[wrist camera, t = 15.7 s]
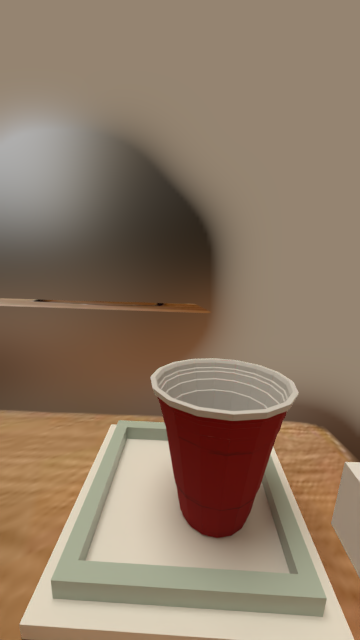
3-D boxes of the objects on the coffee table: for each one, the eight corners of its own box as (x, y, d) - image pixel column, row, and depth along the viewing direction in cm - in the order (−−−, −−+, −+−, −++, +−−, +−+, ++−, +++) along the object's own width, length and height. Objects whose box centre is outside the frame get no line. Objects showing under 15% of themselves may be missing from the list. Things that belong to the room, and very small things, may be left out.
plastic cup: (260, 460, 29) (272, 351, 26) (301, 577, 19) (329, 418, 16) (156, 455, 29) (157, 348, 26) (140, 569, 19) (138, 411, 16)
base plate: (21, 639, 16) (16, 605, 16) (111, 432, 35) (111, 413, 34) (353, 663, 16) (362, 629, 15) (265, 440, 34) (268, 420, 33)
